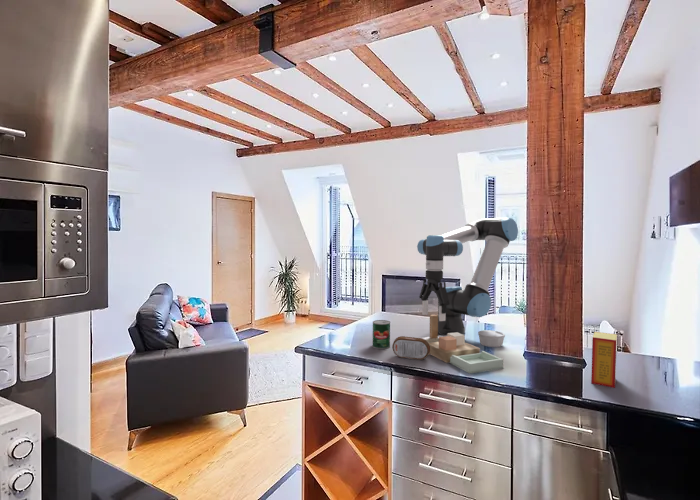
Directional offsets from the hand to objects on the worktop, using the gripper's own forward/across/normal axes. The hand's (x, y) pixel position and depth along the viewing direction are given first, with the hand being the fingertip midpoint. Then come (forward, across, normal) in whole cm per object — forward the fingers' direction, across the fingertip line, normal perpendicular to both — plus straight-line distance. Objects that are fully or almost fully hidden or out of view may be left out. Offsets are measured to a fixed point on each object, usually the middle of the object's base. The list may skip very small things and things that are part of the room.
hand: (433, 317), depth 172 cm
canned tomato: (+13, -8, -22) cm, 27 cm away
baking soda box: (+13, +56, +32) cm, 65 cm away
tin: (+13, +11, -18) cm, 25 cm away
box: (+13, +28, +1) cm, 31 cm away
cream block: (+9, +12, +4) cm, 15 cm away
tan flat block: (+13, +14, 0) cm, 19 cm away
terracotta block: (+9, +16, -4) cm, 19 cm away
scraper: (+13, 0, 0) cm, 13 cm away
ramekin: (+13, +7, +26) cm, 30 cm away
